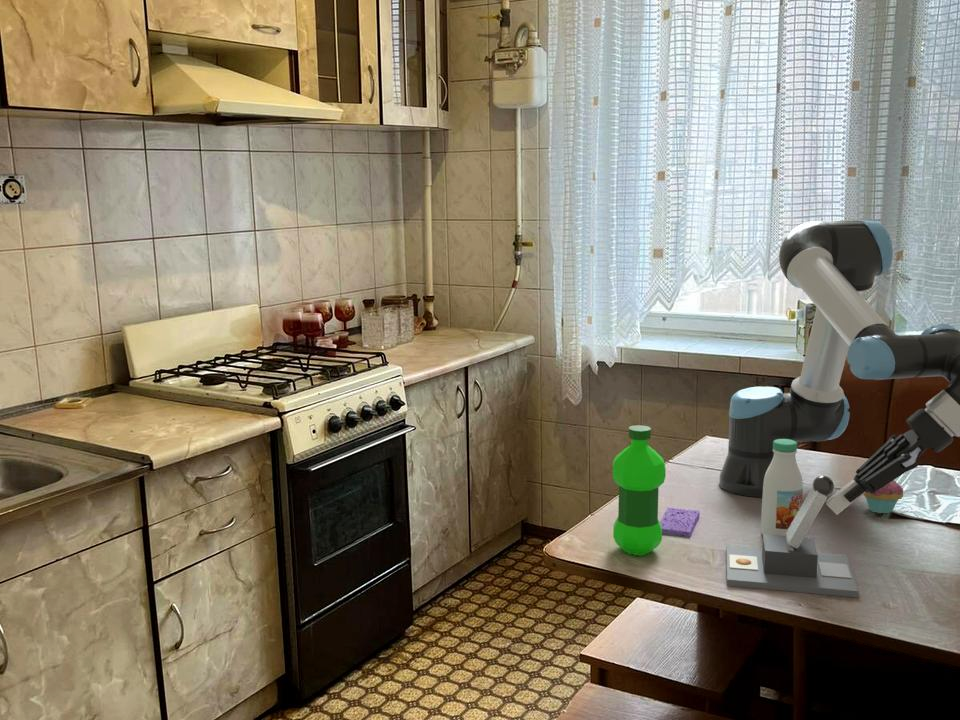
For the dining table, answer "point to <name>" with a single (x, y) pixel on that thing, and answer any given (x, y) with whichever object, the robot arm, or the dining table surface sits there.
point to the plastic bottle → (638, 494)
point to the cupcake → (884, 498)
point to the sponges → (679, 521)
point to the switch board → (790, 580)
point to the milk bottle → (781, 489)
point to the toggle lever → (809, 510)
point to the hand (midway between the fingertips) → (831, 508)
